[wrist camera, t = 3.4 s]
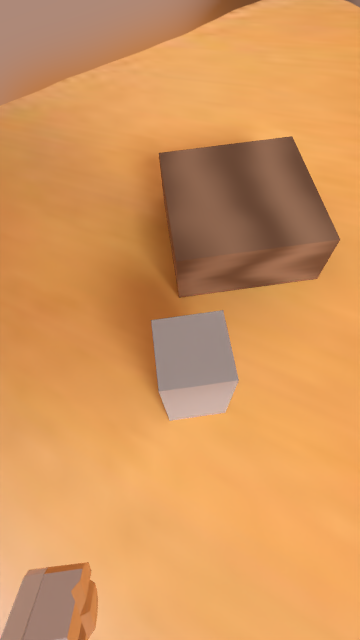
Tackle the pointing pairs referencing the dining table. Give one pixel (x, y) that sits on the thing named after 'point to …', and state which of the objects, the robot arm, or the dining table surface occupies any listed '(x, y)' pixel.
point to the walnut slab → (244, 216)
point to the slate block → (194, 364)
